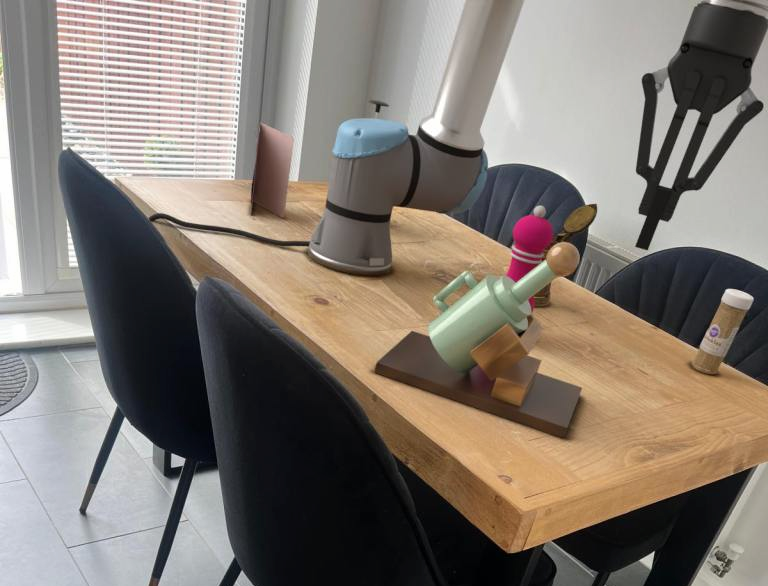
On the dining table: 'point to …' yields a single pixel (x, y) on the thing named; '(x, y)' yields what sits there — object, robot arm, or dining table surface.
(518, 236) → the pepper mill
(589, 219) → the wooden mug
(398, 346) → the walnut board
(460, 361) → the jug
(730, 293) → the sprinkles bottle
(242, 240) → the dining table surface
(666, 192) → the robot arm
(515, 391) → the oak rest
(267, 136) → the greeting card
